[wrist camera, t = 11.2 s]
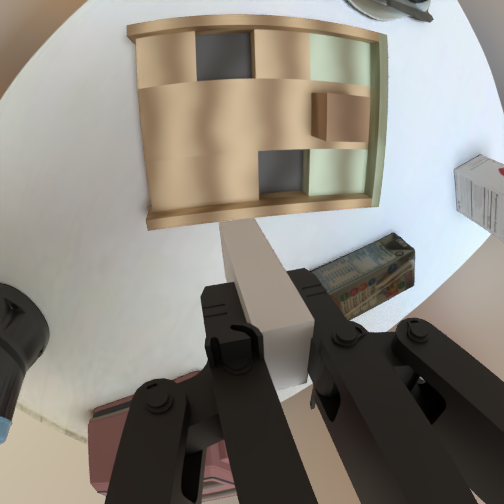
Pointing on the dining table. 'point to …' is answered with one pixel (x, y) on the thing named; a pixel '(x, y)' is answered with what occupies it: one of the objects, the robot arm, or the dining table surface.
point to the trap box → (254, 116)
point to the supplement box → (482, 193)
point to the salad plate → (394, 9)
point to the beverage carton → (369, 275)
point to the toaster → (108, 438)
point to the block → (340, 117)
